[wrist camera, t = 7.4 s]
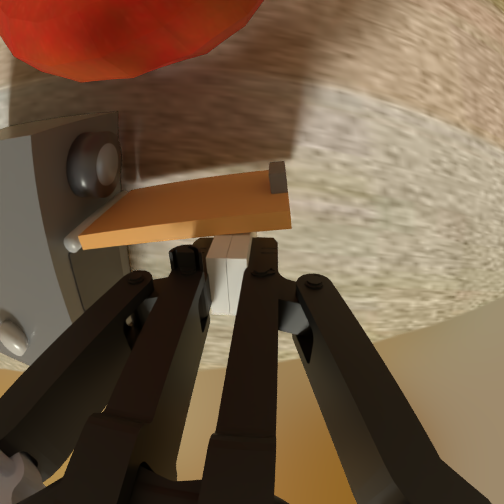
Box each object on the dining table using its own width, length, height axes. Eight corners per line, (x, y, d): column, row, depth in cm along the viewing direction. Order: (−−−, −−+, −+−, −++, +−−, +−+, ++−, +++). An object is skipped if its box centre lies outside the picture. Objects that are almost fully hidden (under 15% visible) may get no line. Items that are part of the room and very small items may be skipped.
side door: (120, 204, 20) (67, 253, 14) (113, 179, 19) (55, 221, 13) (286, 182, 19) (291, 230, 13) (283, 152, 18) (287, 187, 12)
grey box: (8, 126, 18) (-79, 162, 9) (139, 109, 18) (42, 136, 9) (43, 295, 27) (-6, 359, 18) (155, 318, 27) (117, 407, 18)
